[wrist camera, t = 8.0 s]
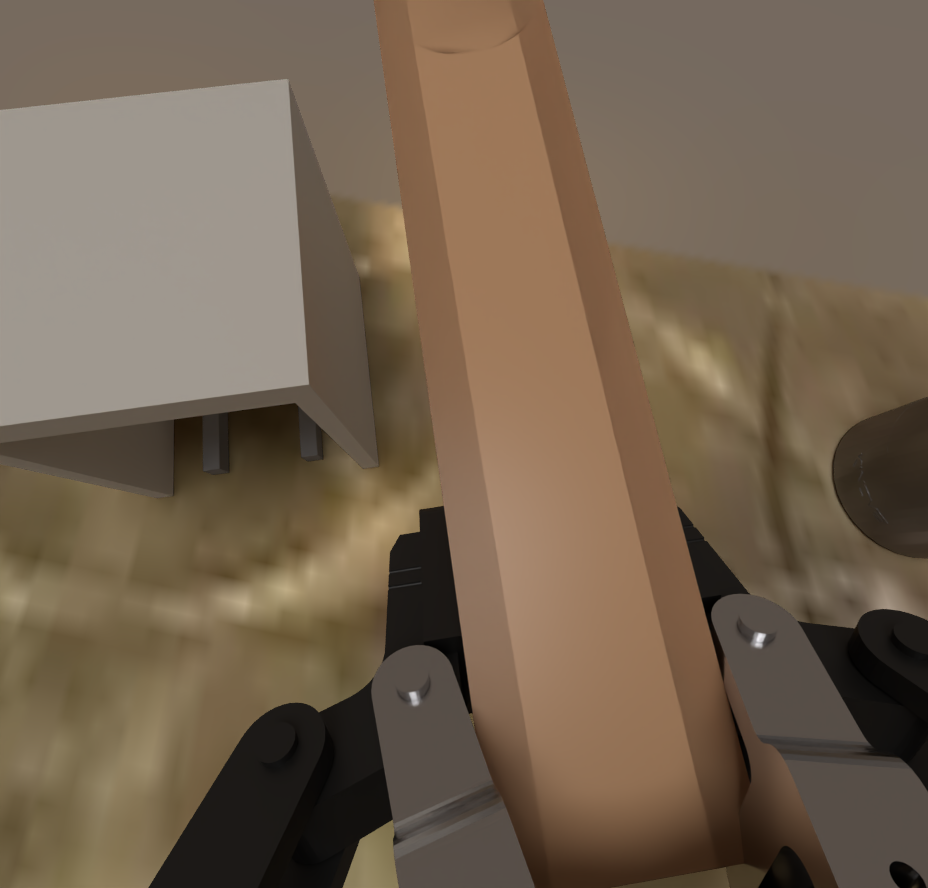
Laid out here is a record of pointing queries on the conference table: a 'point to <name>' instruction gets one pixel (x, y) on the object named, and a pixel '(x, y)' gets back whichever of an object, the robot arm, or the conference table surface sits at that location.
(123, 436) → the grey arch stand
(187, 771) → the conference table surface
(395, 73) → the rounded end wooden stick
